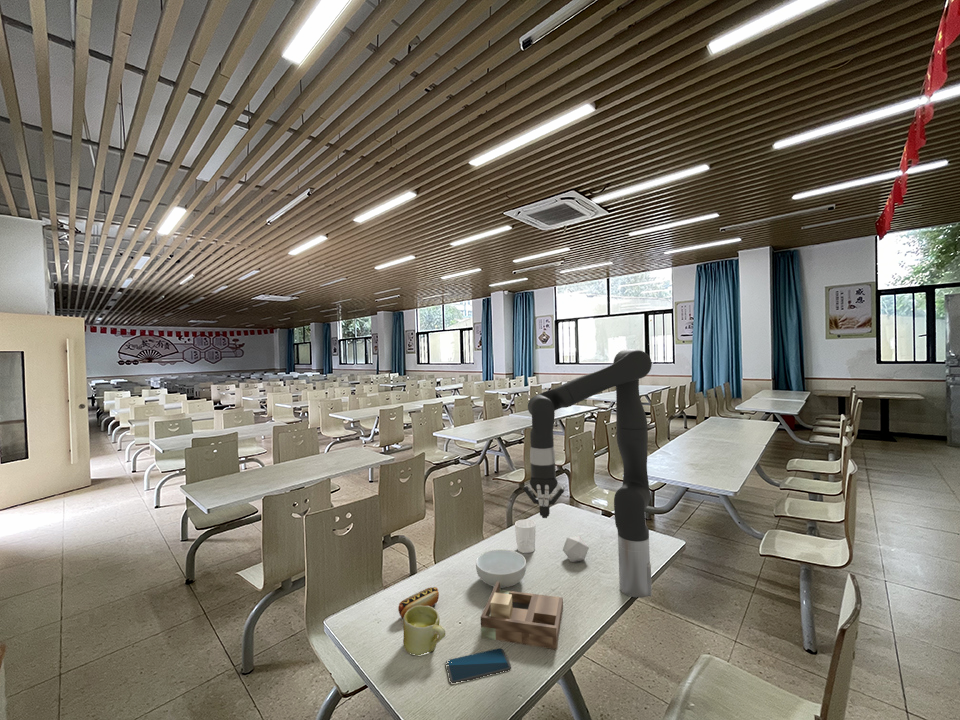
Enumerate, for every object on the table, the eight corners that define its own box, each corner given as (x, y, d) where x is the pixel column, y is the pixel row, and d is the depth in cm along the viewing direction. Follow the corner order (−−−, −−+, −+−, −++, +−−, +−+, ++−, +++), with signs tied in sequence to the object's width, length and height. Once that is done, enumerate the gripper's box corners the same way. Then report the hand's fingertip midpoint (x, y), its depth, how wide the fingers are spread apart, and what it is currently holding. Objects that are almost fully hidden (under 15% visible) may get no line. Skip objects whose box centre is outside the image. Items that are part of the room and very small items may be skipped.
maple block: (512, 612, 118) (512, 594, 118) (509, 623, 113) (508, 604, 113) (495, 609, 119) (494, 592, 119) (491, 620, 114) (490, 602, 114)
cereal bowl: (520, 599, 129) (519, 577, 128) (469, 591, 134) (468, 569, 134) (531, 571, 145) (530, 551, 145) (485, 565, 150) (485, 546, 150)
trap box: (563, 607, 124) (562, 589, 124) (556, 649, 107) (556, 628, 106) (497, 598, 129) (496, 581, 129) (481, 637, 112) (480, 617, 112)
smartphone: (512, 671, 100) (512, 667, 100) (450, 686, 96) (450, 683, 96) (502, 650, 108) (502, 646, 108) (444, 663, 104) (444, 659, 104)
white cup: (520, 555, 156) (519, 529, 156) (512, 546, 164) (512, 521, 164) (539, 552, 158) (538, 525, 158) (531, 543, 166) (530, 518, 166)
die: (586, 568, 146) (595, 541, 150) (564, 557, 146) (573, 530, 150) (577, 566, 154) (586, 540, 158) (556, 555, 154) (565, 530, 158)
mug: (388, 640, 110) (401, 602, 110) (419, 633, 117) (431, 598, 117) (413, 674, 101) (426, 633, 101) (445, 665, 108) (457, 627, 108)
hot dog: (443, 605, 127) (442, 589, 127) (405, 625, 118) (404, 608, 118) (433, 598, 131) (432, 583, 131) (396, 618, 122) (395, 601, 122)
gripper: (565, 458, 130) (567, 514, 130) (523, 457, 134) (525, 511, 134) (563, 465, 123) (565, 523, 123) (519, 463, 127) (521, 520, 127)
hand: (544, 517), depth 129 cm, fingers closed
